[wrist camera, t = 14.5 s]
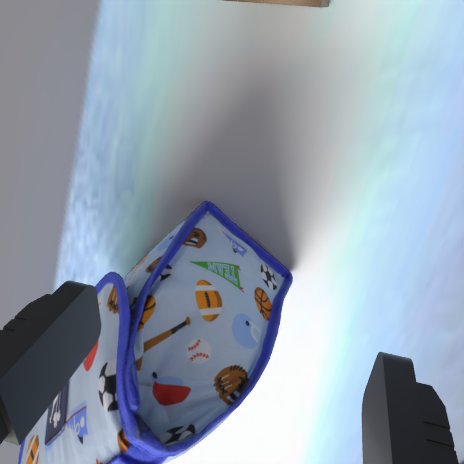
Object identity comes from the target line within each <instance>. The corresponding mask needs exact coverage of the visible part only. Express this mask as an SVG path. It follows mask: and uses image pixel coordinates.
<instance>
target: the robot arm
mask: <svg viewBox="0 0 464 464" xmlns="http://www.w3.org/2000/svg"><path fill="white" fill-rule="evenodd" d="M101 326H102V325H101V317H100V311H99V304H98V297H97V291H96V288H95V287H94V286H92V285H87V284H83V283H78V282H74V281H66V282H65V283H63V284H62V285H61V286H60V287H59V288H58V289H57V290H56V291H55V292H54V293H53V294H52V295H50V294H46V295H44V296H42V297H41V298H38V299H37V300H35V301H33V302H31V303H29V304H28V305H27V306H26V307H25V308H24V309H22V311H20V312H19V313H18V314H17V315H16V316H15V318H14V319H12V320H11V321H10V322H8V323H7V324H6V325H5V326H4V328H3V330H0V444H1V443H2V441H3V440H4V441H7V442H10V443H13V444H16V445H21V443H22V442H23V441H24V439H25V438H26V437H27V435H28V434H29V433H30V431H31V430H32V429H33V427H34V426H35V425H36V423H37V422H38V421H39V419H40V418H41V417H42V415H43V414H44V413H45V411H46V410H47V409H48V407H49V406H50V405H51V403H52V402H53V401H54V399H55V398H56V397H57V395H58V394H59V393H60V391H61V390H62V389H63V387H64V386H65V385H66V383H67V382H68V381H69V379H70V378H71V377H72V375H73V374H74V373H75V371H76V370H77V369H78V367H79V366H80V365H81V363H82V362H83V361H84V359H85V358H86V357H87V356H88V354H89V353H90V352H91V350H92V349H93V348H94V346H95V345H96V343H97V341H98V339H99V336H100V333H101ZM362 443H363V464H459V463H458V459H457V455H456V451H454V442H453V438H452V434H451V432H450V425H449V421H448V417H447V412H446V408H445V406H444V404H443V402H442V401H441V399H440V398H439V396H438V395H437V393H436V392H435V390H434V389H433V387H432V386H430V385H426V384H422V383H418V382H416V378H415V372H414V366H413V362H412V360H411V359H410V358H405V357H401V356H396V355H392V354H388V353H383V352H379V353H378V355H377V358H376V360H375V363H374V366H373V369H372V372H371V375H370V377H369V380H368V383H367V386H366V389H365V392H364V397H363V403H362Z"/></svg>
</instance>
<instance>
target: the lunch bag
mask: <svg viewBox="0 0 464 464" xmlns="http://www.w3.org/2000/svg"><path fill="white" fill-rule="evenodd" d="M292 279H293V277H292V274H291V272H290V271H289V270H287V269H286V268H285V267H284V266H283V265H282V264H281V263H280V262H278V261H277V260H276V259H275V258H274V257H273V256H271V255H270V254H269V253H268V252H267V251H265V250H264V249H263V248H262V247H261V246H259V245H258V244H257V243H256V242H255V241H253V240H252V239H251V238H250V237H249V236H248V235H247V234H246V233H244V232H243V231H242V230H241V229H240V228H238V227H237V226H236V225H235V224H234V223H233V222H232V221H231V220H230V219H229V218H228V217H227V216H226V215H225V214H223V213H222V212H221V211H220V210H219V209H218V208H217V207H216V206H215V205H214V204H213V203H211V202H208V201H205V202H203V203H202V204H201V205H200V206H199V207H198V208H197V209H196V210H195V211H194V212H193V213H192V214H191V215H190V216H189V217H188V218H186V219H185V220H184V221H183V222H182V223H180V224H179V225H178V226H177V227H176V228H175V229H173V230H172V231H171V232H170V233H169V234H168V235H167V236H166V237H165V238H164V239H163V240H161V241H160V242H159V243H158V244H157V245H156V246H155V247H154V248H153V249H152V250H151V251H150V252H149V253H148V254H147V255H146V256H145V257H144V258H143V259H142V260H141V261H140V262H139V263H138V264H137V265H136V266H135V267H134V268H133V269H132V270H131V271H130V272H129V273H128V274H127V275H126V277H125V278H124V279H123V278H122V277H121V276H120V275H119V274H117V273H115V272H109V273H108V274H106V275H105V276H104V277H103V278H102V279H101V280H100V281H99V283H98V284H97V285H96V286H95V288H96V291H97V297H98V304H99V311H100V317H101V325H102V326H101V333H100V336H99V339H98V341H97V343H96V345H95V346H94V348H93V349H92V350H91V352H90V353H89V354H88V356H87V357H86V358H85V359H84V361H83V362H82V363H81V365H80V366H79V367H78V369H77V370H76V371H75V373H74V374H73V375H72V377H71V378H70V379H69V381H68V382H67V383H66V385H65V386H64V387H63V389H62V390H61V391H60V393H59V394H58V395H57V397H56V398H55V399H54V401H53V402H52V403H51V405H50V406H49V407H48V409H47V410H46V411H45V413H44V414H43V415H42V417H41V418H40V419H39V421H38V422H37V423H36V425H35V426H34V427H33V429H32V430H31V431H30V433H29V434H28V435H27V437H26V438H25V439H24V441H23V442H22V443H21V448H20V455H19V463H18V464H165V463H167V462H169V461H171V460H173V459H175V458H177V457H179V456H180V455H182V454H184V453H186V452H187V451H188V450H190V449H191V448H193V447H194V446H195V445H196V444H198V443H199V442H200V441H202V440H203V439H204V438H205V437H207V436H208V435H209V434H210V433H211V432H213V431H214V430H215V429H216V428H217V427H218V426H219V425H220V424H221V423H222V422H223V421H224V420H225V419H226V418H227V417H228V416H229V415H230V414H231V413H232V412H233V411H234V410H235V409H236V408H237V407H238V406H239V405H240V404H241V403H242V402H243V400H244V399H245V398H246V396H247V395H248V394H249V393H250V392H251V391H252V389H253V388H254V386H255V385H256V383H257V382H258V380H259V378H260V376H261V375H262V373H263V371H264V369H265V367H266V366H267V364H268V361H269V359H270V356H271V353H272V350H273V347H274V344H275V340H276V337H277V334H278V328H279V325H280V319H281V311H282V305H283V301H284V298H285V296H286V294H287V292H288V290H289V288H290V286H291V284H292Z"/></svg>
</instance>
